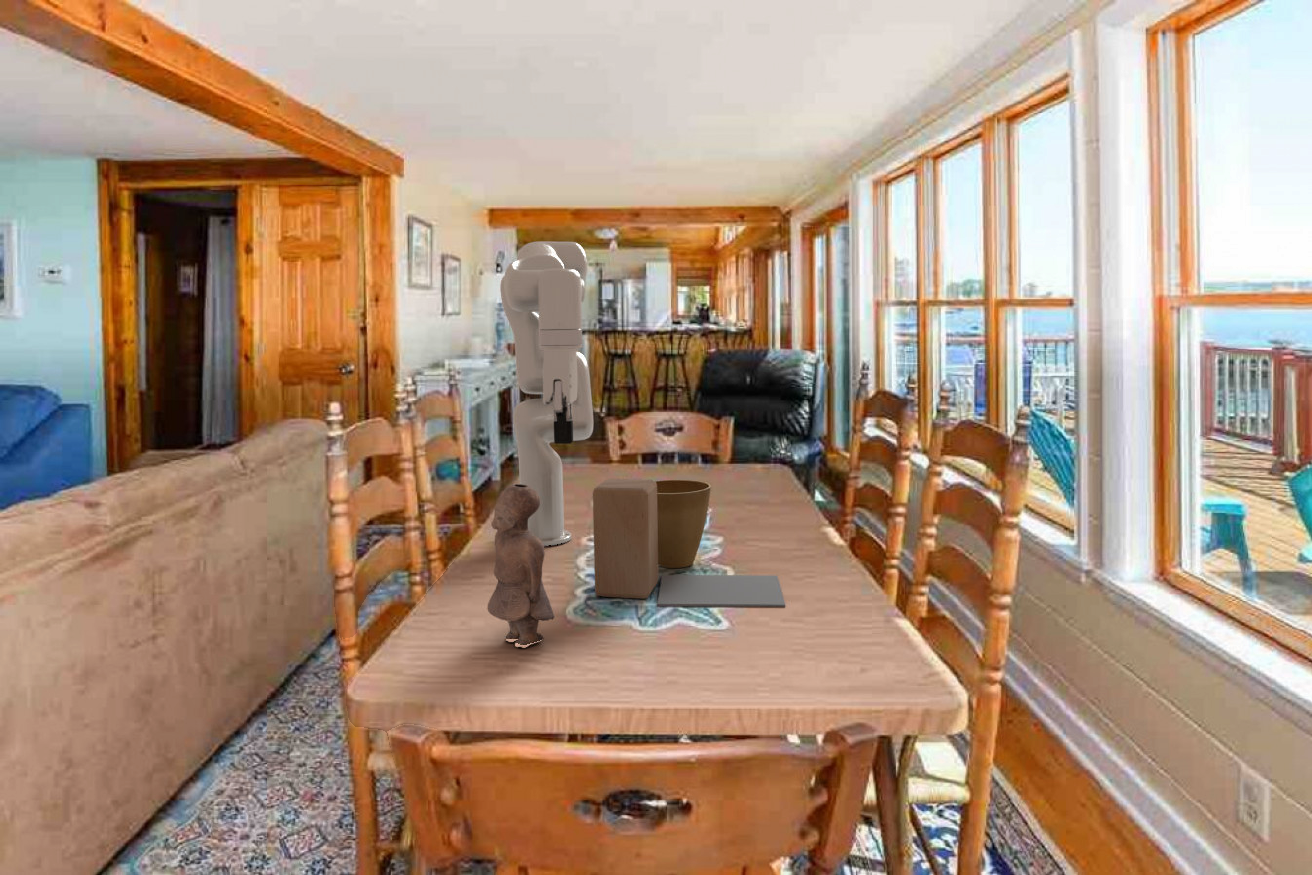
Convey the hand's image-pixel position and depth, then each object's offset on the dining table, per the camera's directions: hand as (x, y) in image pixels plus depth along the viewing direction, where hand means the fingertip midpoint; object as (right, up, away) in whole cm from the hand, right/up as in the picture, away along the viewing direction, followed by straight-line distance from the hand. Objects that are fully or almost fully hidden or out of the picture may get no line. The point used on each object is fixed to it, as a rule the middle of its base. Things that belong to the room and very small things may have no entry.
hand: (563, 442), depth 161 cm
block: (+11, -27, +4) cm, 30 cm away
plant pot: (+20, -25, +21) cm, 38 cm away
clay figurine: (-4, -31, -21) cm, 38 cm away
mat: (+28, -27, +3) cm, 39 cm away
